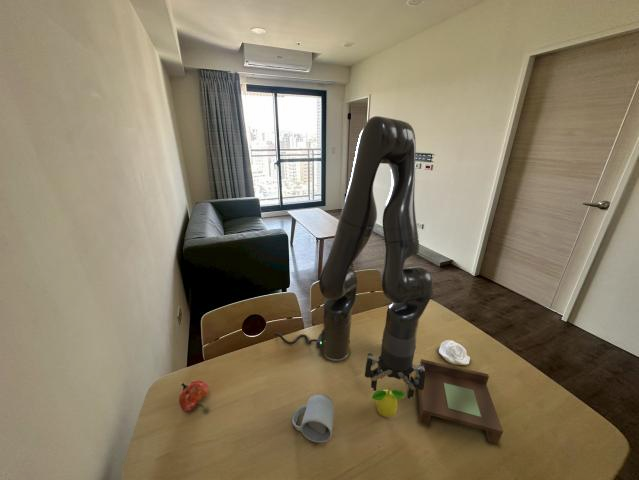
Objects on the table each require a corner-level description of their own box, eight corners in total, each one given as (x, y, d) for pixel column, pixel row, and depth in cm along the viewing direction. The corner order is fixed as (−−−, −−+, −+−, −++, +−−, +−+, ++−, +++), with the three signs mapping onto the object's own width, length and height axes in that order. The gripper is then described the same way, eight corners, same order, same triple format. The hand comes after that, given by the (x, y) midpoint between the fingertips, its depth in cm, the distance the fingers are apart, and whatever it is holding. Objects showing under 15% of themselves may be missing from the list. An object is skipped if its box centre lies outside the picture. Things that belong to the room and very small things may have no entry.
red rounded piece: (215, 401, 73) (195, 373, 75) (219, 398, 68) (198, 369, 70) (191, 424, 68) (170, 394, 70) (193, 423, 63) (171, 390, 65)
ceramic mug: (334, 412, 69) (335, 392, 66) (331, 445, 61) (331, 425, 58) (296, 406, 70) (295, 387, 67) (289, 438, 63) (287, 418, 60)
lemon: (401, 413, 69) (407, 387, 65) (391, 430, 65) (396, 403, 61) (380, 397, 73) (384, 372, 69) (369, 411, 69) (372, 386, 65)
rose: (449, 331, 92) (477, 347, 85) (446, 340, 94) (474, 357, 87) (435, 344, 86) (464, 362, 79) (433, 354, 88) (461, 372, 81)
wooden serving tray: (420, 422, 67) (425, 402, 64) (416, 377, 79) (421, 358, 76) (497, 444, 62) (507, 423, 59) (480, 393, 75) (488, 373, 72)
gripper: (428, 338, 61) (418, 385, 67) (369, 327, 65) (365, 373, 71) (432, 362, 55) (421, 413, 61) (366, 349, 58) (362, 398, 64)
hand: (391, 391), depth 66 cm, fingers open, 8 cm apart
